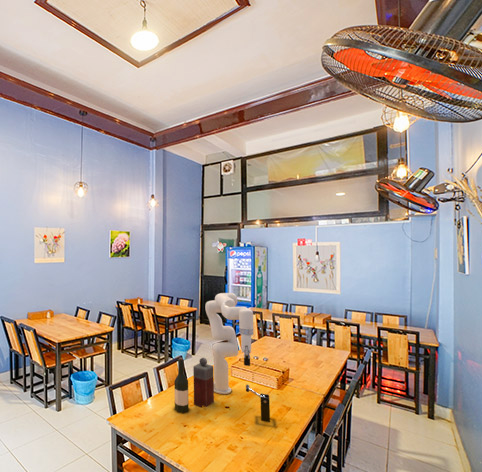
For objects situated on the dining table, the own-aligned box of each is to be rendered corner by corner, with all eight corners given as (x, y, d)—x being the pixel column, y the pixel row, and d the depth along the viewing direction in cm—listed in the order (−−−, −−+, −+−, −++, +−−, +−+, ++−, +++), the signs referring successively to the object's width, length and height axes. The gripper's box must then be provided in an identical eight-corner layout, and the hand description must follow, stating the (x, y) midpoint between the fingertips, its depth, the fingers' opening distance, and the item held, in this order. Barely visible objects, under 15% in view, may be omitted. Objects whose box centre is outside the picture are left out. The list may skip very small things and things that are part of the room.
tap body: (256, 423, 169) (256, 397, 170) (256, 416, 177) (255, 391, 178) (274, 426, 166) (274, 400, 167) (273, 419, 174) (273, 394, 174)
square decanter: (216, 402, 193) (215, 357, 194) (206, 409, 185) (205, 361, 186) (203, 398, 199) (202, 353, 201) (193, 404, 191) (193, 358, 193)
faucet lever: (245, 391, 173) (247, 387, 173) (245, 386, 179) (247, 383, 179) (266, 405, 169) (268, 401, 169) (266, 400, 175) (268, 396, 174)
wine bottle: (173, 406, 189) (172, 356, 190) (186, 405, 190) (185, 355, 191) (176, 413, 181) (175, 360, 182) (190, 412, 181) (189, 360, 183)
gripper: (239, 327, 186) (240, 358, 186) (238, 334, 171) (239, 368, 170) (253, 328, 184) (254, 359, 183) (253, 335, 168) (254, 370, 167)
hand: (247, 363), depth 176 cm, fingers open, 4 cm apart
